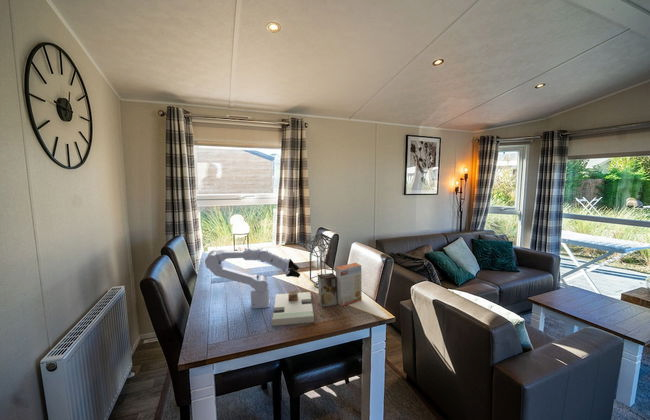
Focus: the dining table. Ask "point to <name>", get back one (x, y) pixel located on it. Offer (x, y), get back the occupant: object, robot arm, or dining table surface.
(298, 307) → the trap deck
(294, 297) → the walnut block
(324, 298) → the coffee box
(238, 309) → the dining table surface
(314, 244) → the geometric lantern
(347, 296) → the cracker box
